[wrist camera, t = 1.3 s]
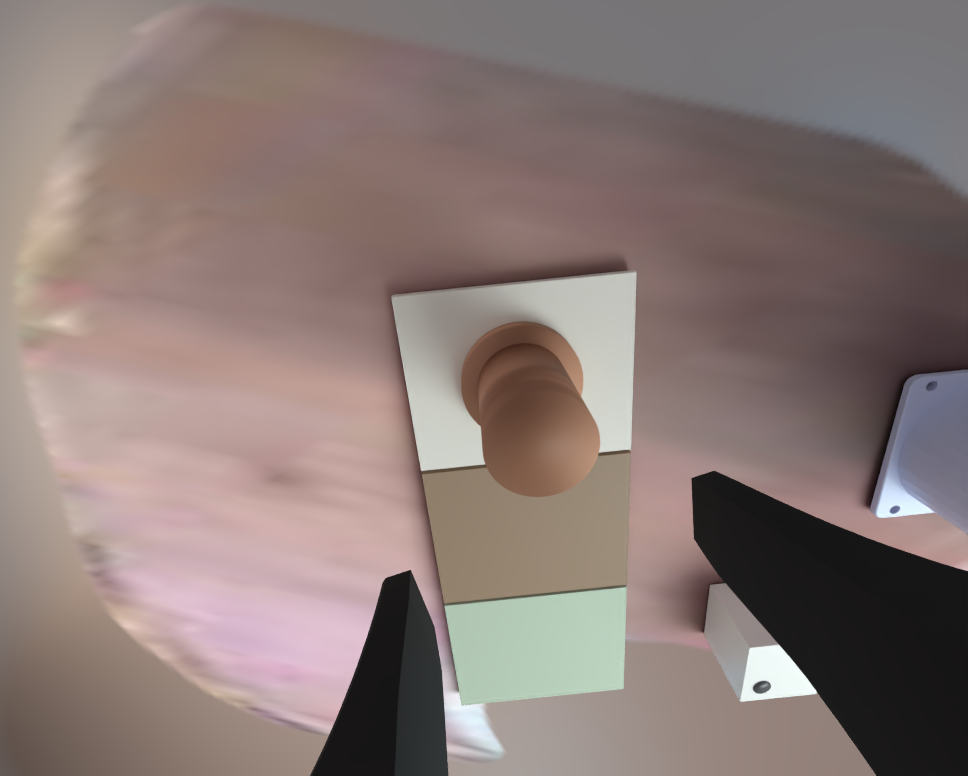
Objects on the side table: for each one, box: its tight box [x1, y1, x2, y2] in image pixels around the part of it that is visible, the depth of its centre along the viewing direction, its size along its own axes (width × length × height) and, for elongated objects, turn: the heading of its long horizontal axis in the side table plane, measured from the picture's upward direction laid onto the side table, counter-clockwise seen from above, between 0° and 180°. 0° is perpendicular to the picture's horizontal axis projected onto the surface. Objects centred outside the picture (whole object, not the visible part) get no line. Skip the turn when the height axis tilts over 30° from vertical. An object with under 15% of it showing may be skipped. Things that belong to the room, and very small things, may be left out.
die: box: [704, 583, 817, 702], centre depth 26 cm, size 4×4×4 cm
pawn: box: [461, 321, 600, 497], centre depth 18 cm, size 5×5×6 cm
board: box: [391, 270, 637, 705], centre depth 24 cm, size 10×25×1 cm, turn 5°
